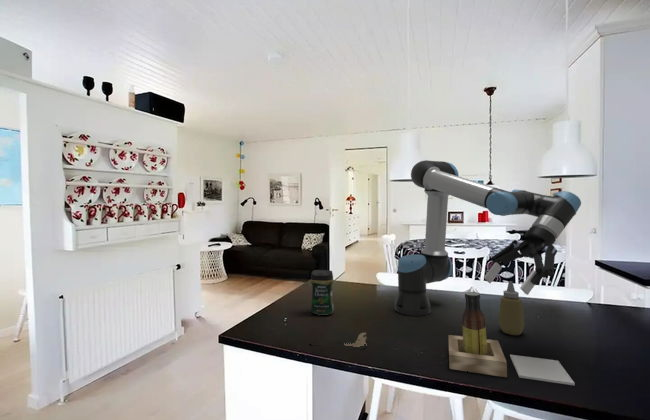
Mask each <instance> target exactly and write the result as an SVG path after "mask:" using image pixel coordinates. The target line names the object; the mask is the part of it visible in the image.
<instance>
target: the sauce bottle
mask: <svg viewBox="0 0 650 420" xmlns="http://www.w3.org/2000/svg"><path fill="white" fill-rule="evenodd" d="M464 299H465V308H464V311H463V314H462V324H461V327H462V336H463V346H464V353H471V354H479V355H486V356H487V340H486V339H487V329H486V328H487V327H486V317H485V314H484V313H483V310H482V309H481V305H480V301H481V300H480V299H481V294H480V292H477V291H466V292H464Z"/></svg>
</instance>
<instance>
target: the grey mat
mask: <svg viewBox="0 0 650 420" xmlns="http://www.w3.org/2000/svg"><path fill="white" fill-rule="evenodd" d="M509 357H510V360H511V362H512V364H513V367H514V368H515V372H516V374H517V375H518V378H521V379H528V380H534V381H541V382H546V383H547V382H548V383H555V384H560V385H561V384H562V385H567V386H568V385H569V386H575V381H574V380H573V379H572V378H571V376H570V374H568V372H567V370H566V369H565V368H564V367H563V365H562V364H561V362H560V361H559V360H557V359H555V360H554V359H548V358H541V357H533V356H524V355H515V354H509Z"/></svg>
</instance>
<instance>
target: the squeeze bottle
mask: <svg viewBox="0 0 650 420" xmlns="http://www.w3.org/2000/svg"><path fill="white" fill-rule="evenodd" d="M499 302H500V303H499V312H498V324H499V326H500V329H501V331H502V333H504V334H508V335H511V336H520V335H522V333H523V330H524V328H525V316H524V309H523V300H522V299H521V298H520V297H519V292H518V291H516V289H515V286H514V281H511V280H510V281H508V284H507V288H506V290H503V296H500V301H499Z"/></svg>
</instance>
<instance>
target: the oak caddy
mask: <svg viewBox="0 0 650 420" xmlns="http://www.w3.org/2000/svg"><path fill="white" fill-rule="evenodd" d="M486 340H487V356H486V355H479V354H471V353H464V346H463V335H455V334H454V335H453V334H452V335H451V334H448V361H449V362H448V363H449V364H448V365H449V369H450V370H454V371H461V372H467V371H468V372H469V373H475V374H481V375H487V376H488V375H489V376H494V377H501V378H508V368H507V367H508V364H507V363H508V362H507V359H506V357H505V355H504V352H503V349H502V347H501V345H500V342H499V339H498V340H496V339H487V338H486Z"/></svg>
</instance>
